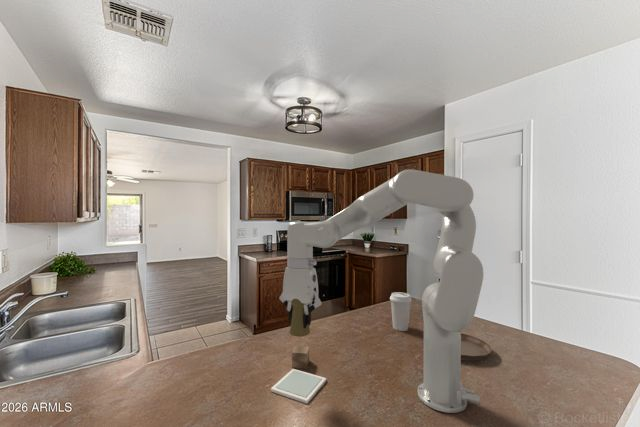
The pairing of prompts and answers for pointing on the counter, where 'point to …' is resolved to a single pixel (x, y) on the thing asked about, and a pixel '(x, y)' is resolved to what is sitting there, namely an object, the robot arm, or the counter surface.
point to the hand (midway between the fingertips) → (299, 324)
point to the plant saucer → (473, 348)
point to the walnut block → (300, 357)
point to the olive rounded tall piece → (298, 319)
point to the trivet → (299, 385)
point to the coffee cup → (400, 310)
